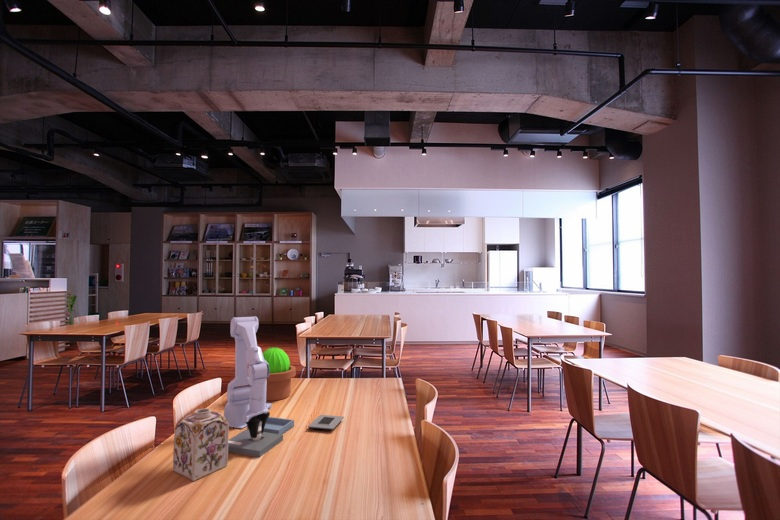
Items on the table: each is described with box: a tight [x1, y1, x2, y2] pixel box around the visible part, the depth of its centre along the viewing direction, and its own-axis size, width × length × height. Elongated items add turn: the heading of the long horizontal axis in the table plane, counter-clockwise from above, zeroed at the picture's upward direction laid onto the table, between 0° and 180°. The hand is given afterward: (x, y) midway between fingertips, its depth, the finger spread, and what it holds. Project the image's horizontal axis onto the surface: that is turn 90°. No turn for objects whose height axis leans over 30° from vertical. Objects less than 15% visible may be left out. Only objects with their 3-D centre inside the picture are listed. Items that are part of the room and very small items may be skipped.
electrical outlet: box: [307, 414, 345, 431], centre depth 154 cm, size 13×10×2 cm
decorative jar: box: [172, 407, 230, 482], centre depth 119 cm, size 12×12×18 cm
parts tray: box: [246, 416, 295, 435], centre depth 150 cm, size 14×11×2 cm
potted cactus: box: [262, 346, 297, 402], centre depth 193 cm, size 22×22×25 cm
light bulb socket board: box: [228, 429, 284, 458], centre depth 135 cm, size 16×14×2 cm
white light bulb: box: [252, 420, 262, 442], centre depth 136 cm, size 3×3×8 cm
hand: (256, 435), depth 136 cm, fingers closed on white light bulb, 3 cm apart
